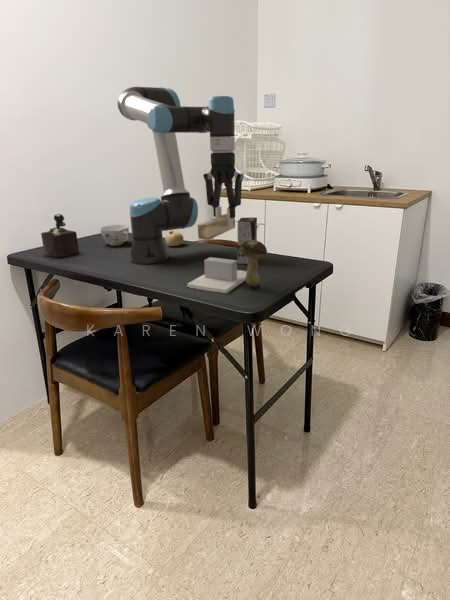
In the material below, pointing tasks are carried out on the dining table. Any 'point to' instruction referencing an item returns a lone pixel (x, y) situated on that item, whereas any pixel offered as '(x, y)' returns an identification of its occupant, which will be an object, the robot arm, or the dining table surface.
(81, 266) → the dining table surface
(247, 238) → the coffee box
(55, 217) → the brown coffee grinder
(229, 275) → the fulcrum
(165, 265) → the dining table surface
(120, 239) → the teacup
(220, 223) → the beech bar
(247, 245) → the mushroom
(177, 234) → the onion
